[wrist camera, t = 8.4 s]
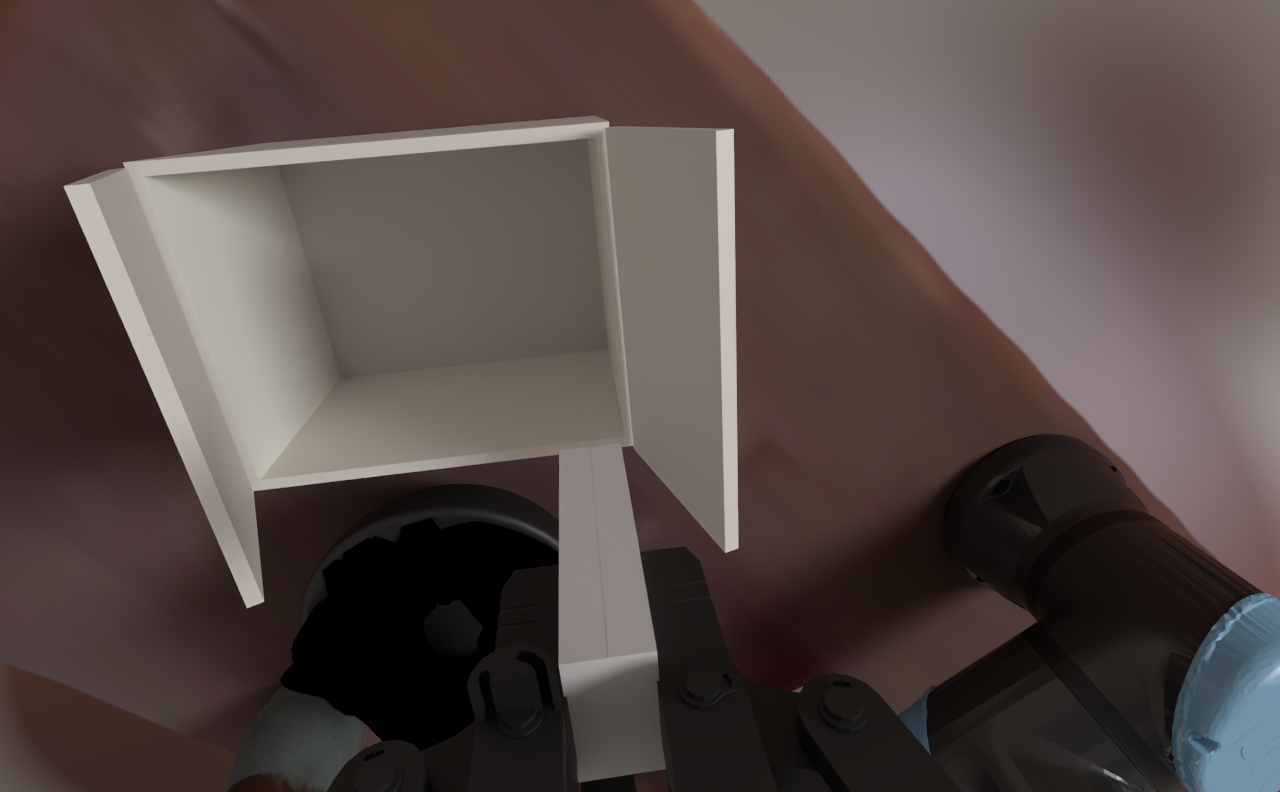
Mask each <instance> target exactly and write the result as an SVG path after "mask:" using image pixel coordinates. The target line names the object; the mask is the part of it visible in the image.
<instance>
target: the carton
mask: <svg viewBox="0 0 1280 792" xmlns="http://www.w3.org/2000/svg"><path fill="white" fill-rule="evenodd" d="M607 127H609V122H608V121H606V120H603V119H601V118H599V117H596V116H584V117H572V118H560V119H548V120H536V121H524V122H512V123H500V124H488V125H476V126H464V127H452V128H440V129H428V130H416V131H404V132H392V133H380V134H368V135H356V136H344V137H332V138H320V139H308V140H296V141H284V142H272V143H262V144H255V145H248V146H240V147H233V148H226V149H218V150H211V151H204V152H196V153H189V154H182V155H175V156H167V157H160V158H153V159H145V160H138V161H131V162H123V164H124V167H125V168H127V169H128V171H129V174H130V177H131V179H132V182H133V184H134V187H135V189H136V192H137V194H138V197H139V200H140V202H141V205H142V207H143V210H144V212H145V215H146V218H147V220H148V223H149V225H150V228H151V230H152V233H153V235H154V238H155V241H156V243H157V246H158V248H159V251H160V253H161V256H162V259H163V261H164V264H165V266H166V269H167V271H168V274H169V277H170V279H171V282H172V284H173V287H174V289H175V292H176V294H177V297H178V300H179V302H180V305H181V307H182V310H183V312H184V315H185V318H186V320H187V323H188V325H189V328H190V330H191V333H192V335H193V338H194V341H195V343H196V346H197V348H198V351H199V353H200V356H201V359H202V361H203V364H204V366H205V369H206V371H207V374H208V376H209V379H210V382H211V384H212V387H213V389H214V392H215V394H216V397H217V400H218V402H219V405H220V407H221V410H222V412H223V415H224V417H225V420H226V423H227V425H228V428H229V430H230V433H231V435H232V438H233V441H234V443H235V446H236V448H237V451H238V453H239V456H240V459H241V461H242V464H243V466H244V469H245V471H246V474H247V476H248V479H249V482H250V484H251V487H252V489H253V491H258V490H267V489H275V488H283V487H292V486H300V485H308V484H317V483H325V482H333V481H342V480H350V479H358V478H367V477H375V476H383V475H392V474H400V473H409V472H417V471H425V470H434V469H442V468H450V467H459V466H467V465H475V464H484V463H492V462H500V461H509V460H517V459H525V458H534V457H542V456H551V455H559V450H567V449H575V448H584V447H593V446H601V445H610V444H618V443H621V447H626V446H633V436H632V424H631V413H630V402H629V391H628V380H627V369H626V358H625V346H624V335H623V324H622V313H621V302H620V291H619V280H618V268H617V257H616V246H615V235H614V224H613V213H612V202H611V190H610V179H609V168H608V157H607V146H606V135H605V128H607Z"/></svg>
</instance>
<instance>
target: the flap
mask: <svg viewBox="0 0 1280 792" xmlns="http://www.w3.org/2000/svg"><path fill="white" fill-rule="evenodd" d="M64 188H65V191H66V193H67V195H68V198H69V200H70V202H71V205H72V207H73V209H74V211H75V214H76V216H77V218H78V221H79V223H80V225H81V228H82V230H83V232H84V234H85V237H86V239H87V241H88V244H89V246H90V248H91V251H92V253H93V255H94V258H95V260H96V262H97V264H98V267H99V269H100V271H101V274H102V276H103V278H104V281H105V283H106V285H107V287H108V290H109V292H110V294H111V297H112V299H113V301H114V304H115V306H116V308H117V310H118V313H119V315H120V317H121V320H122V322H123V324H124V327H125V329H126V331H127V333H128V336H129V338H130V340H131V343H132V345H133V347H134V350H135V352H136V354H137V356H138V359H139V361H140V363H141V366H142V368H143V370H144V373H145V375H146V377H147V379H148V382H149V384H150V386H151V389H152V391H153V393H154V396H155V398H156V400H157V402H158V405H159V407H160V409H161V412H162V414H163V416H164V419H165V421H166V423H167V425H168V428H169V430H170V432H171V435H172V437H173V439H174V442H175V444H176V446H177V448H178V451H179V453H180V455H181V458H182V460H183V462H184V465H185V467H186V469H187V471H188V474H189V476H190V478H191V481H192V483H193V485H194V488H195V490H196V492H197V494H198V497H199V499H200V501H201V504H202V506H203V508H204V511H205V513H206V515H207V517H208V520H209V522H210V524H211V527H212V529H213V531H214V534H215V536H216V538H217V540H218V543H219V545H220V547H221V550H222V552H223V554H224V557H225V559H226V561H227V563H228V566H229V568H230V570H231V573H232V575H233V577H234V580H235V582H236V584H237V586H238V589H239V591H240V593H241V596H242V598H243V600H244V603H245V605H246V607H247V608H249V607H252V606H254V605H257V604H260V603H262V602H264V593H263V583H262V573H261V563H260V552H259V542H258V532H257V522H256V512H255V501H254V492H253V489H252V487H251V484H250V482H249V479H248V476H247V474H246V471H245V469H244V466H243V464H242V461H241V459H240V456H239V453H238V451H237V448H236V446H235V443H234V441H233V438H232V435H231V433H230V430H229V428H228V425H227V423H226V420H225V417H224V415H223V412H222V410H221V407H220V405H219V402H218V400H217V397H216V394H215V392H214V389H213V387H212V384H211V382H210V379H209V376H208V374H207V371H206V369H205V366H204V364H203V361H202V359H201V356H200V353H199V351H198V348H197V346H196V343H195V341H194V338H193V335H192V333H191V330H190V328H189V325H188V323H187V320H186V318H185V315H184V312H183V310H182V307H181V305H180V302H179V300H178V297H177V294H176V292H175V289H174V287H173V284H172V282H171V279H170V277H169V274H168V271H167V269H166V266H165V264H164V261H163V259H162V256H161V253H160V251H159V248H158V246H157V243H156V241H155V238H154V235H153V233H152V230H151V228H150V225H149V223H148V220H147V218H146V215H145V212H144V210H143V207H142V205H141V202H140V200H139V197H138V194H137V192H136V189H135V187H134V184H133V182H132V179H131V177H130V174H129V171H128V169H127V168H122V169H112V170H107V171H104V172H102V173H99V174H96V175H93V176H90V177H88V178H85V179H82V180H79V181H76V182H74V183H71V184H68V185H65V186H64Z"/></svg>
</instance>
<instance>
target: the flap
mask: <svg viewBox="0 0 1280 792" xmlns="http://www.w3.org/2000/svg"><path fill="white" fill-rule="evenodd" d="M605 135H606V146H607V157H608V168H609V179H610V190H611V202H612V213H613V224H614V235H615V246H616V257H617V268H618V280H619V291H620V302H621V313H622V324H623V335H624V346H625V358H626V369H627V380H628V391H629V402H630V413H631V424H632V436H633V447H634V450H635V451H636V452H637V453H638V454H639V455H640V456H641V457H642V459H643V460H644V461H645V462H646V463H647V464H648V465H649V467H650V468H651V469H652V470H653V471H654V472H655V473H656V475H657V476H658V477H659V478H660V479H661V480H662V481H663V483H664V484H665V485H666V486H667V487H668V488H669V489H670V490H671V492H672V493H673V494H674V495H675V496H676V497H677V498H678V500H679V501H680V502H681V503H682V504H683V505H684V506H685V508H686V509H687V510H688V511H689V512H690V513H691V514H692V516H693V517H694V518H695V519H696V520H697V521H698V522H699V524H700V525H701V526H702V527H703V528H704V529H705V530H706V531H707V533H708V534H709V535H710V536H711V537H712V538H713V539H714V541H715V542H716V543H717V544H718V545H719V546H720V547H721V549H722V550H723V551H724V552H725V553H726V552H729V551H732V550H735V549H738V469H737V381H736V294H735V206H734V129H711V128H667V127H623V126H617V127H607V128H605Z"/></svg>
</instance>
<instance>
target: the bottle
mask: <svg viewBox="0 0 1280 792" xmlns="http://www.w3.org/2000/svg"><path fill="white" fill-rule="evenodd" d="M363 728H364V723H363V722H362V721H361V720H359V719H358V718H356V717H355V716H346V715H343V714H342V713H341V712H340V711H339V710H335V709H334V708H333V707H332V706H331V705H330V704H329V703H328V702H327V701H326V700H324V699H323V698H320V697H317V696H310V695H308V694H301V693H299V692H295V691H292V690H289V689H287V688H285V687H284V686H282V687H280V688H279V689H278V690H277V692H276V693H275V694H274V695H273V696H272V697H271V698H270V699H269V700H268V702H267V703H266V704H265V705H264V706H263V708H262V709H261V710H260V712H259V713H258V715H257V716H256V718H255V720H254V721H253V723H252V724H251V726H250V727H249V729H248V730H247V732H246V733H245V736H244V738H243V741H242V744H241V747H240V750H239V752H238V755H237V758H236V761H235V764H234V767H233V770H232V773H231V777H230V779H229V783H228V786H227V789H226V792H327V790H328V788H329V787H330V785H331V783H332V781H333V780H334V778H335V777H336V776H337V774H338V773H339V772H340V770H341V769H342V768H343V766H344V765H345V764H346V763H347V762H348V761H349V760H350V759H352V758H353V757H354V756H355V755H357V754H358V753H359V750H360V745H361V739H362V733H363Z"/></svg>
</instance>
